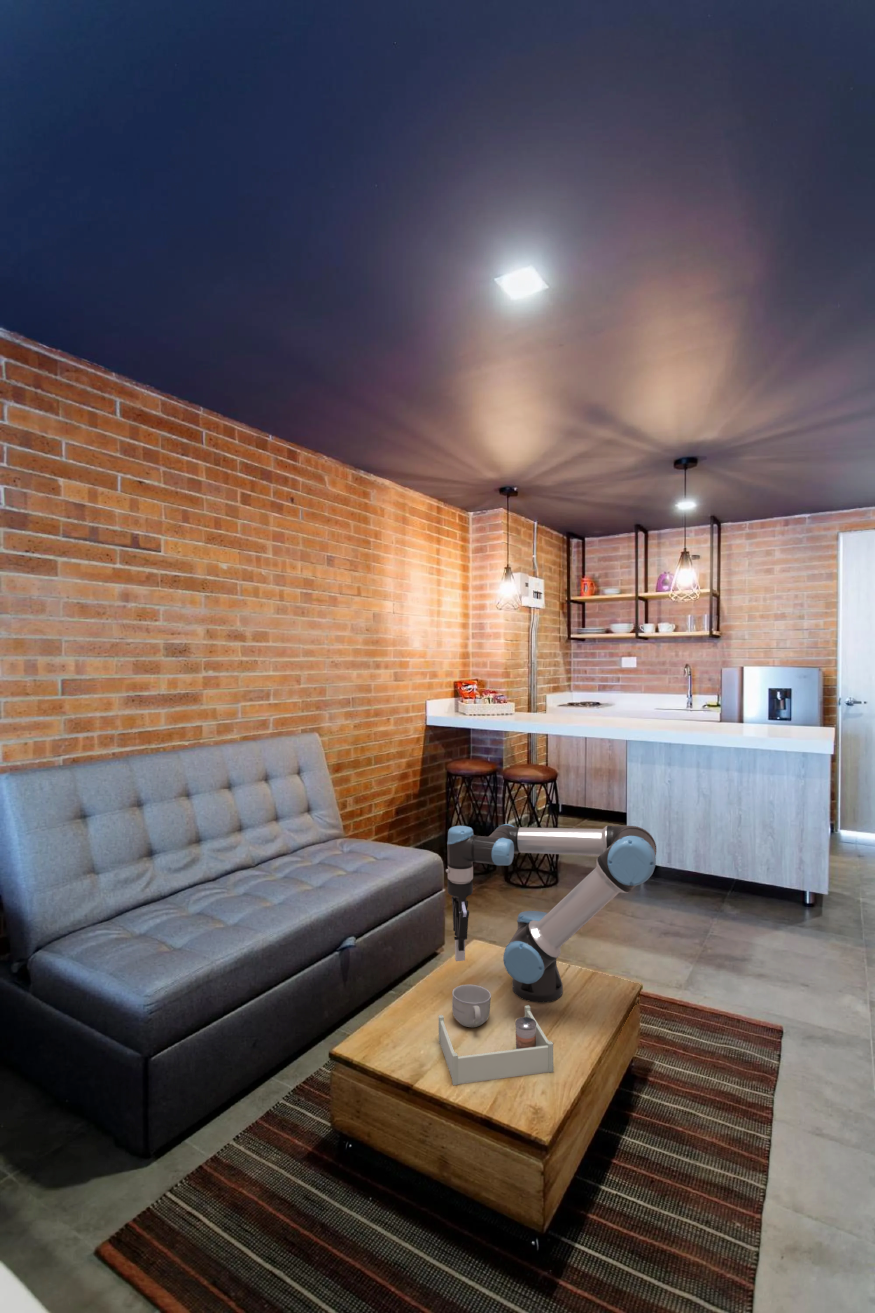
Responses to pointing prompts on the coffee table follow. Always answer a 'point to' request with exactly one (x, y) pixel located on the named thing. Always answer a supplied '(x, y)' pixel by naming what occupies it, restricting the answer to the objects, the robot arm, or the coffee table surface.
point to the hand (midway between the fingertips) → (460, 959)
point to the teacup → (471, 1005)
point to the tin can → (525, 1032)
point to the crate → (497, 1059)
